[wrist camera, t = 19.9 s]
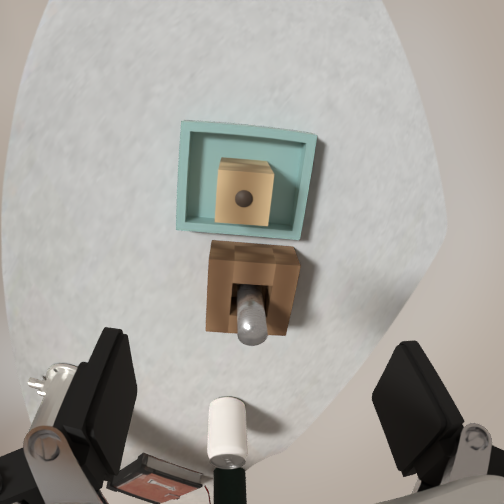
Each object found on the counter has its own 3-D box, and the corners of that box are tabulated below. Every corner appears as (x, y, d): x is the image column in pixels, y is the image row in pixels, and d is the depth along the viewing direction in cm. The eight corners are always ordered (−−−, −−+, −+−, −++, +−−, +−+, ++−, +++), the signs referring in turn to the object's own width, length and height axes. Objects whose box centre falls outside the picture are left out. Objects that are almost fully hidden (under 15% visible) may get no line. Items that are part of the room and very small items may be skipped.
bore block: (208, 307, 43) (205, 331, 39) (211, 240, 39) (208, 259, 34) (280, 312, 44) (285, 335, 40) (293, 246, 40) (300, 265, 35)
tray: (179, 222, 38) (175, 230, 35) (184, 120, 32) (181, 121, 30) (295, 231, 39) (299, 240, 37) (311, 133, 34) (317, 135, 32)
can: (241, 393, 51) (243, 451, 41) (248, 413, 54) (251, 467, 44) (204, 397, 52) (201, 455, 41) (215, 417, 55) (213, 471, 44)
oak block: (218, 200, 36) (214, 222, 30) (221, 157, 34) (217, 170, 28) (262, 203, 37) (268, 226, 30) (266, 161, 34) (274, 174, 28)
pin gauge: (235, 292, 41) (236, 344, 32) (237, 271, 40) (239, 322, 31) (259, 293, 41) (265, 346, 32) (262, 273, 40) (269, 324, 31)
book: (160, 493, 75) (158, 506, 71) (109, 474, 70) (106, 488, 65) (205, 472, 67) (204, 488, 63) (143, 451, 62) (141, 468, 57)
